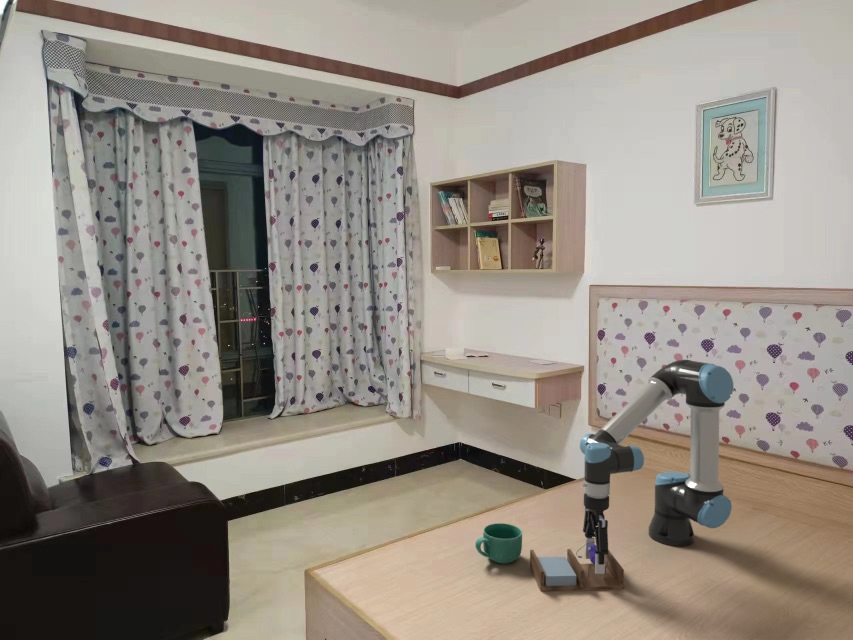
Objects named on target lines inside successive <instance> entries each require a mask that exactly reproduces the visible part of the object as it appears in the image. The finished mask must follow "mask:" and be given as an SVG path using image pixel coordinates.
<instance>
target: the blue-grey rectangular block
mask: <svg viewBox="0 0 853 640" xmlns="http://www.w3.org/2000/svg"><path fill="white" fill-rule="evenodd" d="M537 558H538V560H539V562H540V564H541V566H542V568H543V570H544V582H545V584H546V586H568V585H576V574H575V573H574V571H573V569H572V567H571V566H570V564H569V562H568V561H567V556H537Z"/></svg>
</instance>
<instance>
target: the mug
mask: <svg viewBox="0 0 853 640" xmlns="http://www.w3.org/2000/svg"><path fill="white" fill-rule="evenodd" d="M482 534H483V536H480V537H478V538H477V539H476V541H475V549H476V551H477V552H478V553H479V554H480V555H481V556H483V557H485V558H488V559H490V560H492V561H493V562H495V563H497V564H509V563H513V562H515V561H516V560H517V559H519V557H520V556H521V553H522V548H523V531H522V529H521V528H519V527H518V526H516V525H515V524H514V525H513V524H510V523H503V522H499V523H497V522H496V523H491V524H488V525H486V526H485V527H484V528H483V533H482ZM482 545H483V546H482ZM481 546H482V547H483V550H482V548H481Z"/></svg>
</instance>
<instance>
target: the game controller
mask: <svg viewBox="0 0 853 640" xmlns="http://www.w3.org/2000/svg"><path fill="white" fill-rule="evenodd" d="M591 543H593V542H591ZM588 544H589V543H588ZM586 545H587V544H586ZM583 547H585V544H584V545H583V546H582V547H580V548H579V549H578V550H577V551H576V553H575V556H577V558H579V559H582V558H583V556H582V555H578V552H579V550H581V549H582V548H583ZM588 551H589V553H590V559H589V560H590V562H591V563H589V564H590V565H592V564H594V565H595V556H596V554H595V552H597V547H596V543H595V544H593V545H591V546H590V547H589V548H588ZM607 564H608V562H607ZM590 565H589V567H590ZM605 566H607V565H606V563H605ZM590 570H591V568H590ZM605 572H606V567H605ZM588 576H590V574H589V570H588Z"/></svg>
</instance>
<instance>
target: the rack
mask: <svg viewBox="0 0 853 640" xmlns="http://www.w3.org/2000/svg"><path fill="white" fill-rule="evenodd" d="M566 551H567V553H566V559H567V561H568V562H569V564H570V566H571V567H572V569H573V571H574V573H575V574H576V585H568V586H546V584H545V582H544V570H543V568H542V566H541V564H540V562H539V560H538V558H537V557H538V556H537V554H536V552H535V550H534V549H530V550H529V568H530V571H531V573H532V576H533V578H534V580H535V582H536V584H537V586H538V589H539V591H540V592H556V591H557V592H558V591H562V592H564V591H566V592H567V591H597V590H598V591H601V590H602V591H603V590H606V591H607V590H624V579H625V577H624V576H625V575H624V573H625V569H624V568H623V567H622V565H621V563H619V562H618V560H617V559H616V557H615V556H614V555H613V554H612V553H611V551H610V550H609V549H608V552H609V554H605V563H606V565H607V566H605V567H606V572H605V574H596V573H595V565H594V564H593V563H580V562H579V560H578V559H577V557H576V554H575V553H573V551H572V549H571V548H567V550H566ZM607 562H608V564H607ZM590 564H592V565H590ZM589 565H590V567H589ZM590 568H591V570H590ZM588 570H589V574H590V576H588Z"/></svg>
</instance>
